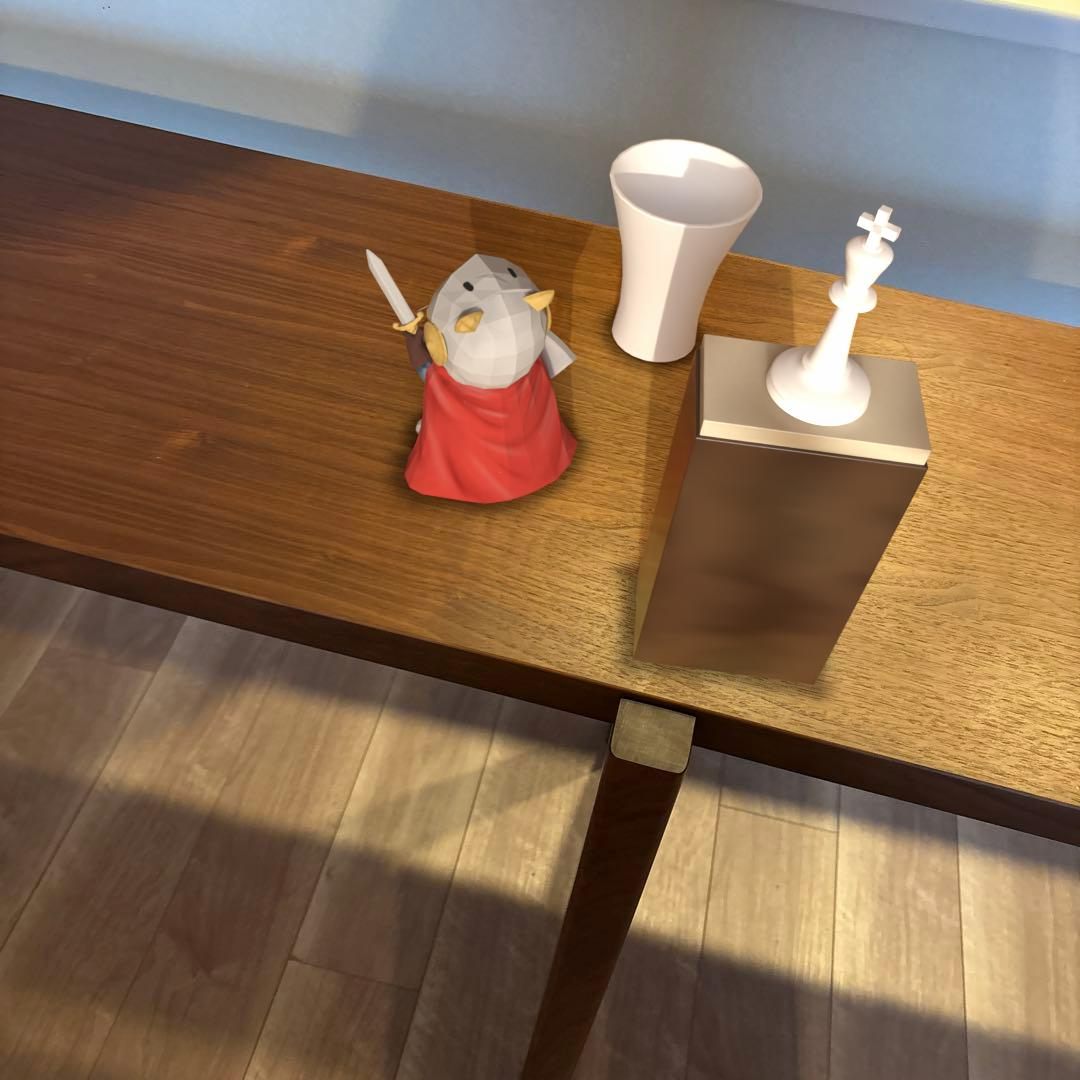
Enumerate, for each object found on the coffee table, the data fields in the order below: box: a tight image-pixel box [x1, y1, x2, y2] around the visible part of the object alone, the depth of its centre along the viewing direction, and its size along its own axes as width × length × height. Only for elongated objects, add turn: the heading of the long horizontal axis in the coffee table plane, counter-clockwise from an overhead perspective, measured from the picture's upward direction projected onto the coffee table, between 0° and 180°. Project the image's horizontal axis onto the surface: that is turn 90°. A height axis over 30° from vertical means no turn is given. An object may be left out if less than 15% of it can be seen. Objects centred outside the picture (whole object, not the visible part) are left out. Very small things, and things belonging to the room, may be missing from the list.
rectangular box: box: [632, 333, 932, 685], centre depth 60 cm, size 11×6×20 cm, turn 84°
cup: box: [609, 138, 764, 363], centre depth 80 cm, size 10×10×14 cm
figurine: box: [365, 248, 579, 505], centre depth 71 cm, size 13×11×15 cm
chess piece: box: [766, 204, 902, 426], centre depth 49 cm, size 5×5×10 cm
